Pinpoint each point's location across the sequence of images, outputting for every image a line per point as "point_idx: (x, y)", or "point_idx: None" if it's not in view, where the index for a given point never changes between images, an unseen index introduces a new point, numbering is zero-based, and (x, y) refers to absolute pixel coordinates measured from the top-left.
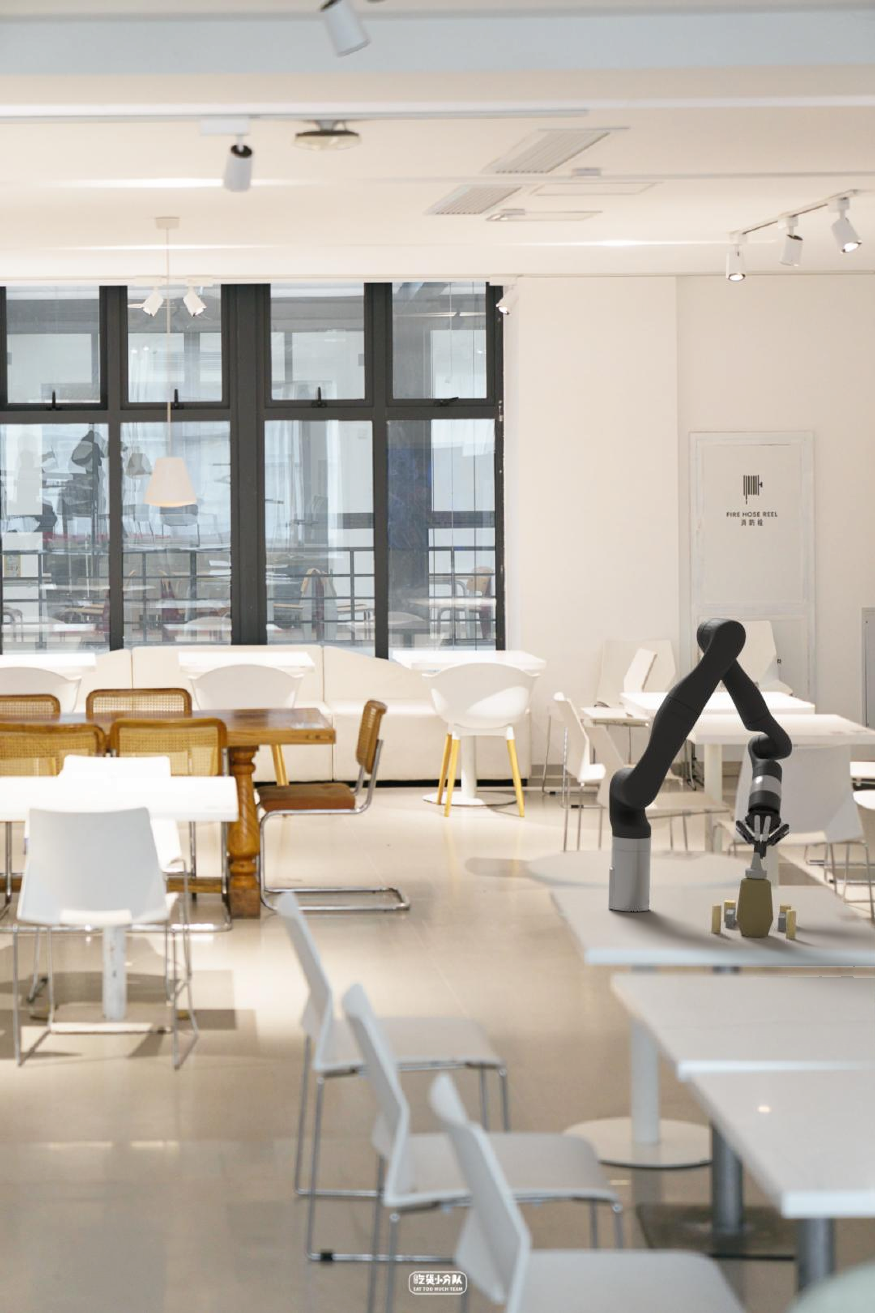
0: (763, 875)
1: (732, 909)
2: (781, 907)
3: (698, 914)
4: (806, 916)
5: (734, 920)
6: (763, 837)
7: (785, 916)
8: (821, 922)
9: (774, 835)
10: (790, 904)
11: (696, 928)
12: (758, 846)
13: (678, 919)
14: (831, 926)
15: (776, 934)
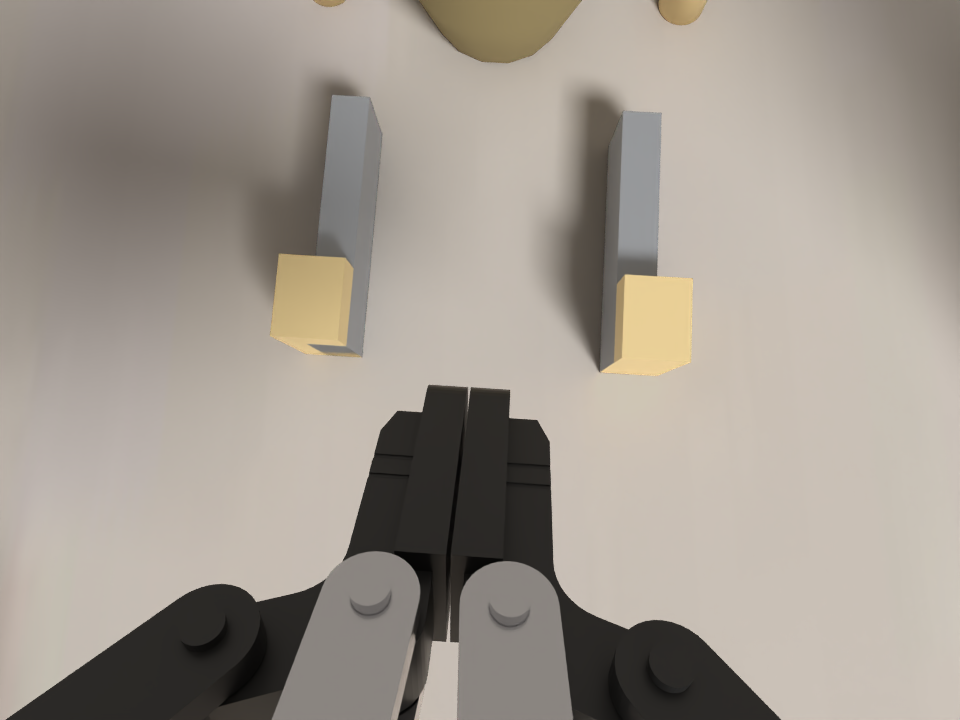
0: None
1: (630, 259)
2: (337, 259)
3: (809, 468)
4: None
5: (604, 298)
6: (388, 635)
7: (327, 144)
8: (133, 453)
9: (145, 690)
10: (274, 332)
11: (781, 79)
12: (485, 469)
13: (898, 283)
14: (93, 353)
15: (392, 59)
